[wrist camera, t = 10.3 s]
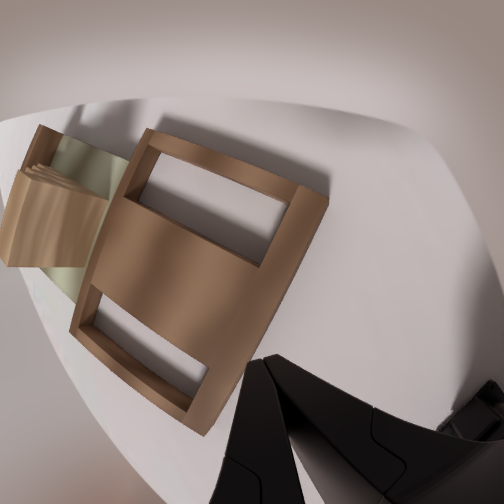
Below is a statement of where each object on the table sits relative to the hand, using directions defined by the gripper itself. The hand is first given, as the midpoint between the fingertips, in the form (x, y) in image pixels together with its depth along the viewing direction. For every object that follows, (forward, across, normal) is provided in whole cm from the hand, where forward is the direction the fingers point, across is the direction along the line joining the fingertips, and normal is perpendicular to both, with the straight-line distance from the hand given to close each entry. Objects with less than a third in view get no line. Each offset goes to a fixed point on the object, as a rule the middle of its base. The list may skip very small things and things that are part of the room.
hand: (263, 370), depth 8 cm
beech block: (+20, +13, -4) cm, 24 cm away
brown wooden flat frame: (+18, +7, 0) cm, 20 cm away
